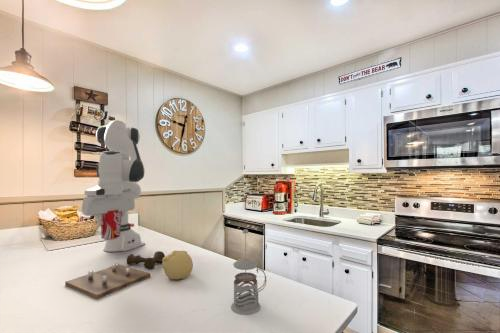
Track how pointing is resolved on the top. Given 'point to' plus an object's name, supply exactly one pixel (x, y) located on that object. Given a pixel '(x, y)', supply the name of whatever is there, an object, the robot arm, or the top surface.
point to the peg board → (107, 280)
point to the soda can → (111, 225)
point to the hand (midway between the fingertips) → (110, 223)
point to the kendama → (146, 260)
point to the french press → (246, 301)
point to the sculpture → (177, 265)
